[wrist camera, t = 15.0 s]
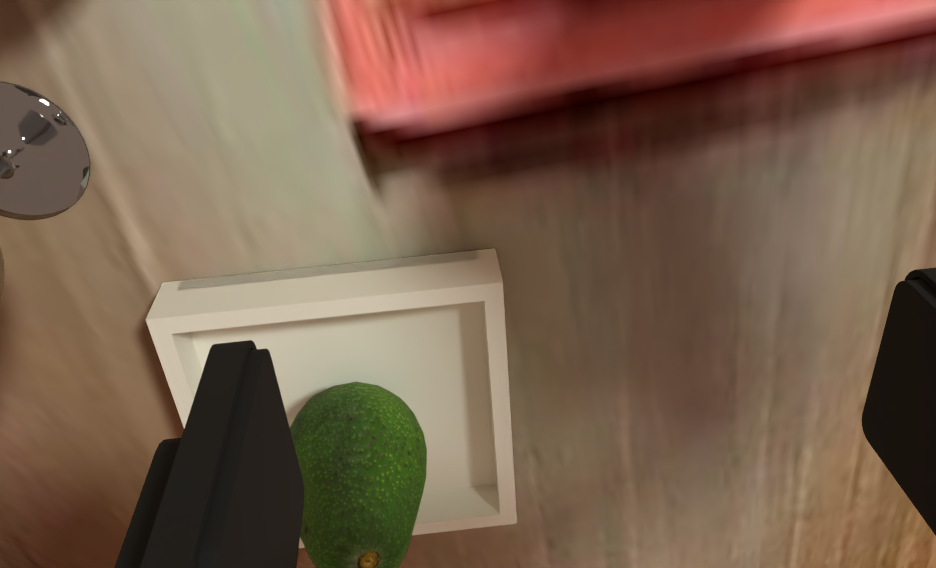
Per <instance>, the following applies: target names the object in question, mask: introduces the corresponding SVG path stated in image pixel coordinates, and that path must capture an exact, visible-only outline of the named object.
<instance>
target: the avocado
mask: <svg viewBox="0 0 936 568" xmlns="http://www.w3.org/2000/svg"><path fill="white" fill-rule="evenodd" d="M290 431H291V435H292V439H293V443H294V447H295V451H296V454H297V458H298V462H299V466H300V470H301V474H302V478H303V484H304V508H303V516H302V524H301V532H300V538H301V540H302V542H303V544H304V547H305V549H306V551H307V553H308V555H309V557H310V559H311V560H312V562H313V564H314V565H315V567H316V568H398V567H399V565H400V563H401V562H402V560H403V558H404V556H405V554H406V552H407V550H408V547H409V543H410V540H411V536H412V533H413V529H414V525H415V522H416V518H417V514H418V510H419V506H420V503H421V499H422V495H423V491H424V486H425V481H426V465H427V448H426V443H425V438H424V433H423V431H422V429H421V427H420V425H419V423H418V421H417V418H416V416H415V414H414V413H413V412H412V410H411V409H410V408H409V407H408V405H407V404H406V403H405V402H404V401H403V400H402V399H401V398H400V397H398V396H397V395H395V394H394V393H392V392H390V391H388V390H386V389H384V388H382V387H380V386H378V385H373V384H367V383H362V382H351V383H346V384H341V385H336V386H332V387H330V388H328V389H326V390H324V391H322V392H320V393H318V394H316V395H314V396H312V397H311V398H310V399H309V400H308V401H307V402H306V404H305V405H304V406H303V407H302V408H301V410H300V411H299V412H298V413H297V415H296V417H295V419H294V421H293V422H292V424H291V426H290Z"/></svg>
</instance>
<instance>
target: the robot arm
mask: <svg viewBox="0 0 936 568" xmlns="http://www.w3.org/2000/svg"><path fill="white" fill-rule="evenodd" d="M862 427H863V431H864V434H865V437H866V438H867V440H868V442H869V443H870V445H871V446H872V447H873V449H874V450H875V452H876V453H877V454H878V456H879V457H880V459H881V460H882V461H883V463H884V464H885V465H886V467H887V468H888V470H889V471H890V472H891V474H892V475H893V477H894V478H895V479H896V481H897V482H898V484H899V485H900V486H901V488H902V489H903V491H904V492H905V493H906V495H907V496H908V498H909V499H910V500H911V502H912V503H913V505H914V506H915V507H916V509H917V510H918V511H919V513H920V514H921V516H922V517H923V518H924V520H925V521H926V523H927V524H928V525H929V527H930V528H931V530H932V531H933V532H934V534H935V535H936V268H929V269H919V270H914V271H911V272H910V273H909V274H908V275H907V276H906V278H905V281H901V282H899V283H898V284H897V285H896V287H895V290H894V293H893V297H892V301H891V305H890V309H889V313H888V317H887V321H886V325H885V328H884V332H883V336H882V340H881V344H880V348H879V352H878V356H877V360H876V364H875V367H874V371H873V375H872V379H871V383H870V387H869V391H868V395H867V399H866V402H865V406H864V410H863V414H862ZM303 508H304V484H303V478H302V474H301V470H300V466H299V462H298V458H297V454H296V451H295V447H294V443H293V439H292V435H291V431H290V427H289V424H288V420H287V416H286V412H285V408H284V404H283V400H282V397H281V393H280V389H279V385H278V381H277V377H276V374H275V370H274V366H273V362H272V358H271V355H270V352H269V350H268V349H257V348H256V345H255V343H254V342H253V341H252V340H248V341H238V342H229V343H219V344H214V345H212V346H211V348H210V350H209V354H208V357H207V360H206V363H205V366H204V369H203V372H202V375H201V379H200V382H199V385H198V388H197V391H196V394H195V397H194V400H193V404H192V407H191V410H190V413H189V416H188V419H187V422H186V425H185V429H184V432H183V435H182V438H175V439H166V440H163V441H162V442H161V443H160V444H159V446H158V448H157V450H156V452H155V454H154V457H153V460H152V463H151V466H150V469H149V472H148V474H147V477H146V480H145V483H144V486H143V489H142V491H141V494H140V497H139V500H138V503H137V506H136V508H135V511H134V514H133V517H132V520H131V523H130V525H129V528H128V531H127V534H126V537H125V540H124V543H123V545H122V548H121V551H120V554H119V557H118V560H117V562H116V565H115V568H296V565H297V557H298V549H299V541H300V532H301V524H302V516H303Z"/></svg>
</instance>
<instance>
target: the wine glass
mask: <svg viewBox="0 0 936 568" xmlns="http://www.w3.org/2000/svg"><path fill="white" fill-rule="evenodd" d="M89 177H90V159H89V153H88V150H87V147H86V144H85V141H84V139H83V137H82V135H81V134H80V132H79V130H78V128H77V127H76V126H75V124H74V123H73V122H72V121H71V119H70V118H69V117H68V116H67V115H66V114H65V113H64V112H63V111H62V110H61V109H60V108H59V107H58V106H56V105H55V104H54V103H52V102H51V101H50V100H48V99H47V98H45V97H43V96H42V95H40V94H38V93H36V92H34V91H32V90H30V89H27V88H24V87H22V86H19V85H15V84H11V83H6V82H0V215H3V216H6V217H12V218H17V219H42V218H47V217H51V216H55V215H57V214H59V213H62V212H64V211H66V210H67V209H69V208H70V207H71V206H73V205H74V204H75V203H76V202H77V201H78V200H79V198H80V197H81V196H82V195H83V193H84V191H85V189H86V187H87V184H88V180H89ZM3 287H4V259H3V255H2V250H1V248H0V300H1V297H2V292H3Z"/></svg>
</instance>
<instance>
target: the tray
mask: <svg viewBox="0 0 936 568" xmlns="http://www.w3.org/2000/svg"><path fill="white" fill-rule="evenodd" d="M146 323H147V325H148V328H149V331H150V334H151V337H152V339H153V342H154V345H155V348H156V351H157V354H158V356H159V359H160V362H161V365H162V368H163V370H164V373H165V376H166V379H167V382H168V385H169V387H170V390H171V393H172V396H173V399H174V401H175V404H176V407H177V410H178V413H179V416H180V418H181V421H182V424H183V427H184V429H185V425H186V422H187V419H188V416H189V413H190V410H191V407H192V404H193V400H194V397H195V394H196V391H197V388H198V385H199V382H200V379H201V375H202V372H203V369H204V366H205V363H206V360H207V357H208V354H209V350H210V348H211V346H212V345H214V344H219V343H229V342H238V341H248V340H252V341H253V342H254V343H255V345H256V348H257V349H268V350H269V352H270V355H271V358H272V362H273V366H274V370H275V374H276V377H277V381H278V385H279V389H280V393H281V397H282V400H283V404H284V408H285V412H286V416H287V420H288V424H289V427H290V426H291V424H292V422H293V421H294V419H295V417H296V415H297V413H298V412H299V411H300V410H301V408H302V407H303V406H304V405H305V404H306V402H307V401H308V400H309V399H310V398H311V397H312V396H314V395H316V394H318V393H320V392H322V391H324V390H326V389H328V388H330V387H332V386H336V385H341V384H346V383H351V382H362V383H367V384H373V385H378V386H380V387H382V388H384V389H386V390H388V391H390V392H392V393H394V394H395V395H397V396H398V397H400V398H401V399H402V400H403V401H404V402H405V403H406V404H407V405H408V407H409V408H410V409H411V410H412V412H413V413H414V414H415V416H416V418H417V421H418V423H419V425H420V427H421V429H422V431H423V433H424V438H425V443H426V448H427V465H426V481H425V486H424V491H423V495H422V499H421V503H420V506H419V510H418V514H417V518H416V522H415V525H414V529H413V533H412V535H420V534H429V533H438V532H447V531H456V530H465V529H473V528H482V527H491V526H500V525H509V524H517V516H516V499H515V481H514V464H513V447H512V430H511V413H510V395H509V378H508V361H507V344H506V326H505V309H504V292H503V280H502V276H501V271H500V267H499V262H498V258H497V253H496V249H495V248H493V249H483V250H473V251H464V252H454V253H444V254H435V255H425V256H415V257H406V258H396V259H386V260H377V261H367V262H357V263H348V264H338V265H328V266H319V267H309V268H299V269H290V270H280V271H270V272H261V273H251V274H241V275H232V276H222V277H212V278H203V279H193V280H183V281H174V282H164V283H162V285H161V287H160V289H159V291H158V294H157V296H156V298H155V300H154V302H153V305H152V307H151V309H150V311H149V313H148V316H147V318H146ZM299 548H305V547H304V544H303V542H302V540H301V538H300V541H299Z"/></svg>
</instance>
